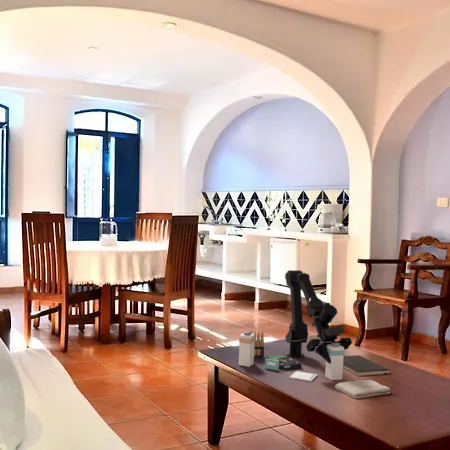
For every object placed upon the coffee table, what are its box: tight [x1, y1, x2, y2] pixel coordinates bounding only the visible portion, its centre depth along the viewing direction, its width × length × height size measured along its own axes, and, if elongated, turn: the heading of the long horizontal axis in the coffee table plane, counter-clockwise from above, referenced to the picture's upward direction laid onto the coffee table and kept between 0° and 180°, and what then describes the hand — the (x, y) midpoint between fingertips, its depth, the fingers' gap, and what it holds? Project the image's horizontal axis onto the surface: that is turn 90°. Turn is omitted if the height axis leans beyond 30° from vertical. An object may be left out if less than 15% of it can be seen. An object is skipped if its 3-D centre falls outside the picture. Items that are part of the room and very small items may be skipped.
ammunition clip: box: [242, 330, 265, 359], centre depth 255 cm, size 11×2×12 cm, turn 105°
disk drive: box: [264, 354, 302, 371], centre depth 245 cm, size 10×3×15 cm
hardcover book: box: [343, 354, 391, 377], centre depth 246 cm, size 16×23×2 cm
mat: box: [289, 370, 318, 383], centre depth 228 cm, size 9×9×1 cm
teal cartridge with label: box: [264, 358, 280, 371], centre depth 237 cm, size 1×6×4 cm, turn 65°
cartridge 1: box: [238, 331, 255, 368], centre depth 243 cm, size 5×5×14 cm
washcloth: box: [334, 379, 391, 399], centre depth 213 cm, size 12×18×3 cm, turn 117°
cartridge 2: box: [324, 343, 345, 381], centre depth 228 cm, size 5×5×14 cm
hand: (336, 362), depth 227 cm, fingers closed on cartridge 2, 5 cm apart
